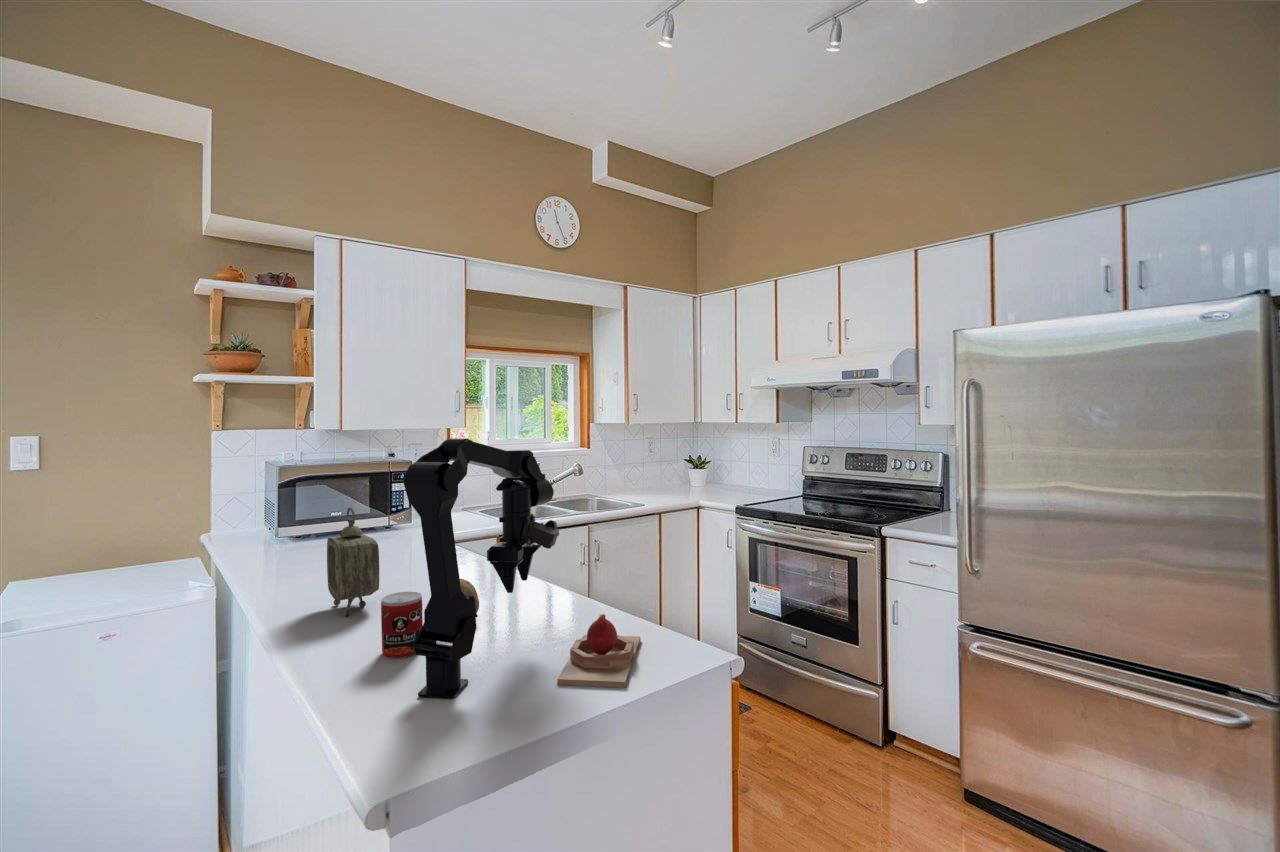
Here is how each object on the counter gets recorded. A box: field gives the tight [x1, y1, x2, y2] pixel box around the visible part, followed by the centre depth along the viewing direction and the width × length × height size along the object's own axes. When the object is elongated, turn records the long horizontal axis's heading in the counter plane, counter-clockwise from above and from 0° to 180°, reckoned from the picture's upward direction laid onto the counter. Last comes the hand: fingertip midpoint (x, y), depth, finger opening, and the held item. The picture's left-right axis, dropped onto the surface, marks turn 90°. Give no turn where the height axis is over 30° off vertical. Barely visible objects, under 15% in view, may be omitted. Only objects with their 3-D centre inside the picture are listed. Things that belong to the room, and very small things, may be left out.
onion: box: [586, 613, 618, 655], centre depth 118 cm, size 6×6×8 cm
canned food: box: [380, 591, 423, 659], centre depth 124 cm, size 8×8×11 cm
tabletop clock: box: [326, 507, 380, 617], centre depth 152 cm, size 14×9×25 cm, turn 37°
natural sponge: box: [460, 578, 480, 614], centre depth 141 cm, size 9×9×10 cm
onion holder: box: [556, 634, 642, 689], centre depth 118 cm, size 22×12×3 cm, turn 173°
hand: (517, 586), depth 127 cm, fingers open, 9 cm apart
